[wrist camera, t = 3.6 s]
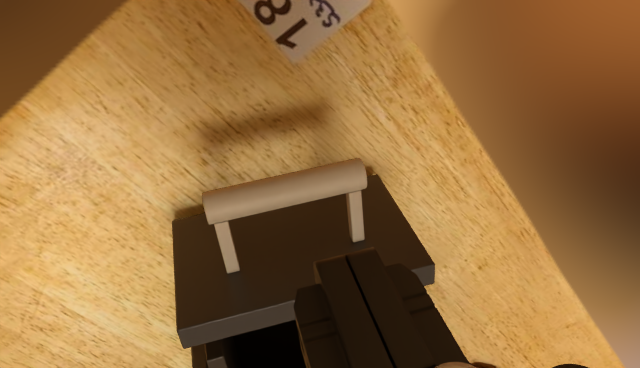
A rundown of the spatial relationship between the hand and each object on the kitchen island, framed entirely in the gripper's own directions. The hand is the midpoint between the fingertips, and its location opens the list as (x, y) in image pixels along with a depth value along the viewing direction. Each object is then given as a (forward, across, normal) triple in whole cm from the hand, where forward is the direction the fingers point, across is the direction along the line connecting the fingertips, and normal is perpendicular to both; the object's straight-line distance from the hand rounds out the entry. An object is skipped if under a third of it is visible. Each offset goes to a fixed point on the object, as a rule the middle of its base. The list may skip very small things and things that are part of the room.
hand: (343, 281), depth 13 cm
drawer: (+15, 0, +12) cm, 19 cm away
